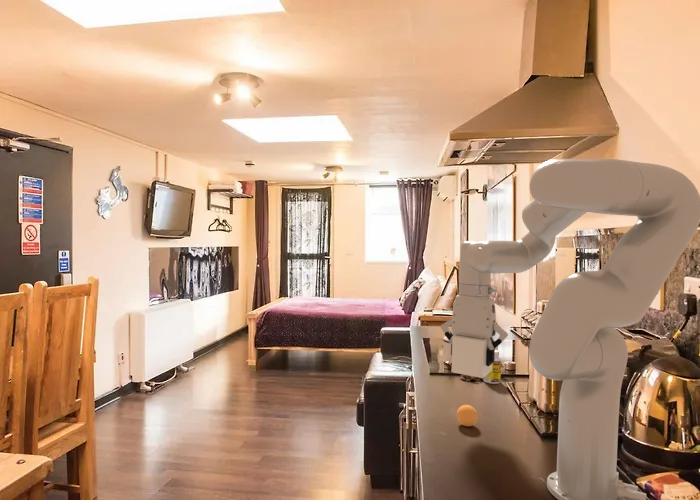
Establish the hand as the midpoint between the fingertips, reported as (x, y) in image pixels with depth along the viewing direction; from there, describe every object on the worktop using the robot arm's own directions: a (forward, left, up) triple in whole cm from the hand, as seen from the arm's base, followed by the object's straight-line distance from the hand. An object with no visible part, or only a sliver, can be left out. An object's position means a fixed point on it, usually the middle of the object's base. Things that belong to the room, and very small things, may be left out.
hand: (472, 361), depth 110 cm
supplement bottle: (+5, -38, -16) cm, 41 cm away
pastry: (+12, -39, -17) cm, 44 cm away
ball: (+1, +1, -13) cm, 13 cm away
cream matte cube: (0, 0, -2) cm, 2 cm away
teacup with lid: (+23, -53, -16) cm, 60 cm away
